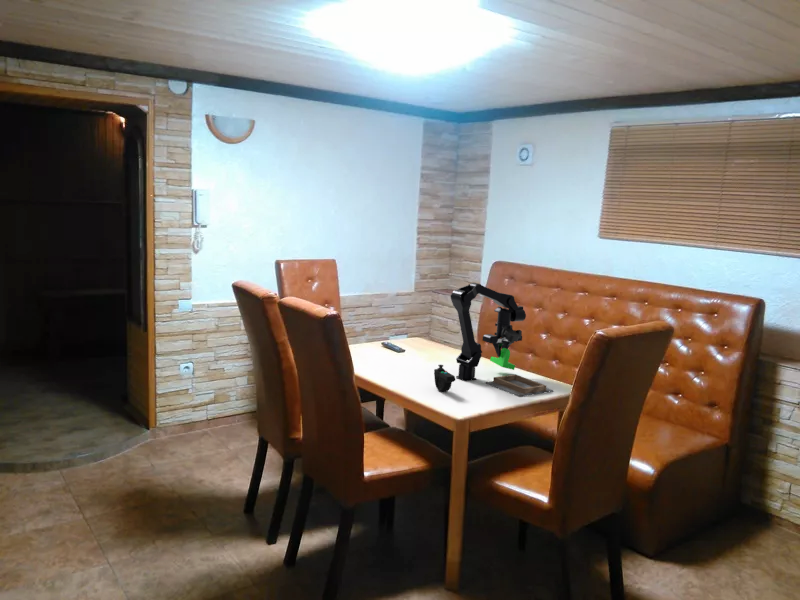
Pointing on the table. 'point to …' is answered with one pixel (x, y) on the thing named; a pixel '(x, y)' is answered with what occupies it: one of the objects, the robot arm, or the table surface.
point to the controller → (443, 379)
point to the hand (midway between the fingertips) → (501, 356)
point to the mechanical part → (503, 359)
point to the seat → (518, 385)
